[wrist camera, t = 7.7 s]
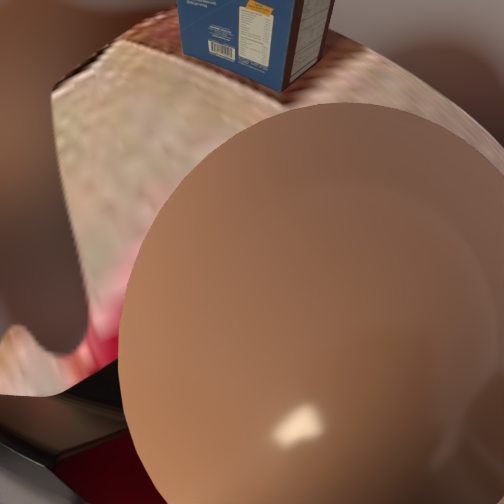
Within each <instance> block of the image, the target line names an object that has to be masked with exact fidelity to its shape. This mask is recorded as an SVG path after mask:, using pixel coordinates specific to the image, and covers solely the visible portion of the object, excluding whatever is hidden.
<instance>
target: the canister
mask: <svg viewBox="0 0 504 504" xmlns="http://www.w3.org/2000/svg"><path fill="white" fill-rule="evenodd" d="M118 373H119V381H120V389H121V396H122V403H123V409H124V414H125V417H126V421H127V424H128V427H129V430H130V433H131V436H132V439H133V442H134V445H135V448H136V451H137V454H138V456H139V458H140V460H141V461H142V463H143V465H144V467H145V469H146V471H147V473H148V475H149V476H150V478H151V480H152V482H153V484H154V485H155V487H156V489H157V490H158V491H159V493H160V494H161V495H162V497H163V498H164V499H165V500H166V502H167V503H168V504H497V503H498V502H499V501H500V500H501V499H502V498H503V497H504V176H503V175H502V173H501V172H500V171H499V170H498V169H497V168H496V167H495V166H494V165H493V164H492V163H491V162H490V161H489V160H488V159H487V158H485V157H484V156H483V155H482V154H481V153H480V152H479V151H477V150H476V149H475V148H474V147H472V146H471V145H470V144H468V143H467V142H466V141H464V140H463V139H461V138H460V137H458V136H457V135H455V134H453V133H452V132H450V131H448V130H447V129H445V128H443V127H441V126H439V125H437V124H435V123H433V122H431V121H429V120H426V119H424V118H422V117H420V116H417V115H414V114H411V113H408V112H405V111H401V110H398V109H394V108H389V107H384V106H379V105H373V104H362V103H330V104H318V105H313V106H308V107H303V108H298V109H294V110H290V111H287V112H284V113H281V114H278V115H276V116H273V117H270V118H267V119H265V120H263V121H261V122H259V123H257V124H255V125H253V126H251V127H249V128H247V129H245V130H243V131H241V132H240V133H238V134H236V135H235V136H233V137H232V138H230V139H229V140H228V141H226V142H225V143H223V144H222V145H221V146H219V147H218V148H217V149H215V150H214V151H212V152H211V153H210V154H209V155H208V156H207V157H206V158H204V159H203V160H202V161H201V162H200V163H199V164H198V165H197V166H196V167H195V168H194V169H193V170H192V171H191V172H190V173H189V174H188V175H187V176H186V177H185V178H184V179H183V181H182V182H181V183H180V184H179V186H178V187H177V188H176V190H175V191H174V192H173V194H172V195H171V196H170V197H169V199H168V200H167V201H166V203H165V204H164V206H163V207H162V208H161V210H160V212H159V213H158V215H157V217H156V219H155V221H154V222H153V224H152V226H151V228H150V230H149V232H148V233H147V235H146V237H145V239H144V241H143V243H142V245H141V248H140V250H139V253H138V256H137V258H136V261H135V264H134V267H133V269H132V272H131V275H130V278H129V281H128V284H127V289H126V294H125V299H124V304H123V309H122V314H121V320H120V326H119V348H118Z"/></svg>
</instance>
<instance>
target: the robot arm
mask: <svg viewBox="0 0 504 504" xmlns="http://www.w3.org/2000/svg"><path fill="white" fill-rule="evenodd" d="M0 504H168V503H167V502H166V500H165V499H164V498H163V497H162V495H161V494H160V493H159V491H158V490H157V489H156V487H155V485H154V484H153V482H152V480H151V478H150V476H149V475H148V473H147V471H146V469H145V467H144V465H143V463H142V461H141V460H140V458H139V456H138V454H137V451H136V448H135V445H134V442H133V439H132V436H131V433H130V430H129V427H128V424H127V421H126V417H125V414H124V409H123V403H122V396H121V389H120V381H119V373H118V358H116V359H115V360H114V361H112V362H111V363H109V364H107V365H106V366H104V367H103V368H101V369H100V370H98V371H97V372H95V373H93V374H92V375H90V376H89V377H87V378H85V379H84V380H82V381H80V382H79V383H77V384H76V385H74V386H72V387H71V388H69V389H67V390H65V391H64V392H62V393H59V394H57V395H53V396H47V397H32V396H14V395H1V394H0ZM497 504H504V497H503V498H502V499H501V500H500V501H499V502H498V503H497Z"/></svg>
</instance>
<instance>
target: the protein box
mask: <svg viewBox="0 0 504 504" xmlns="http://www.w3.org/2000/svg"><path fill="white" fill-rule="evenodd" d="M334 1H335V0H177V8H178V16H179V24H180V33H181V41H182V49H183V53H185V54H187V55H190V56H193V57H196V58H199V59H202V60H205V61H207V62H210V63H213V64H215V65H218V66H220V67H223V68H225V69H228V70H230V71H233V72H235V73H238V74H240V75H242V76H245V77H247V78H249V79H251V80H254V81H256V82H258V83H260V84H263V85H265V86H267V87H269V88H271V89H273V90H275V91H278V92H281V91H283V90H284V89H285V88H286V87H287V86H288V85H290V84H291V83H292V82H293V81H294V80H296V79H297V78H298V77H299V76H300V75H302V74H303V73H304V72H305V71H307V70H308V69H309V68H310V67H312V66H313V65H314V64H315V63H317V62H318V61H319V60H320V59H321V56H322V52H323V47H324V43H325V39H326V35H327V31H328V27H329V23H330V18H331V14H332V10H333V6H334Z"/></svg>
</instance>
